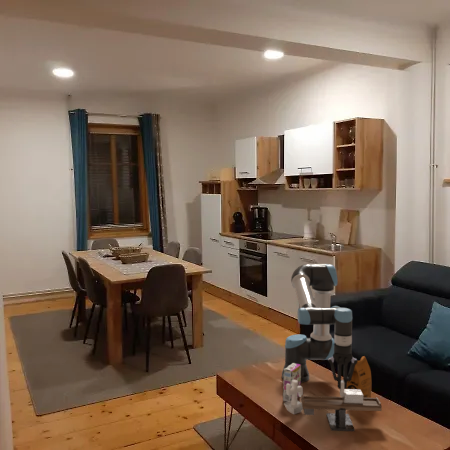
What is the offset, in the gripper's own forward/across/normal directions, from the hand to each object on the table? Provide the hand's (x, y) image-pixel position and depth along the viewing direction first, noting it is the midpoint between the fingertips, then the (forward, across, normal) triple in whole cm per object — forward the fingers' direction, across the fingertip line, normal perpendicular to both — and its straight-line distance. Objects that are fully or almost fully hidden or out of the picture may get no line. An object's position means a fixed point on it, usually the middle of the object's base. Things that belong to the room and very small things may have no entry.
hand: (341, 395), depth 210 cm
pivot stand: (+13, -1, 0) cm, 13 cm away
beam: (+8, -1, 0) cm, 8 cm away
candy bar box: (+13, -20, +24) cm, 34 cm away
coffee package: (+13, +12, +21) cm, 27 cm away
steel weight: (+3, +5, 0) cm, 6 cm away
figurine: (+13, -20, +10) cm, 26 cm away
